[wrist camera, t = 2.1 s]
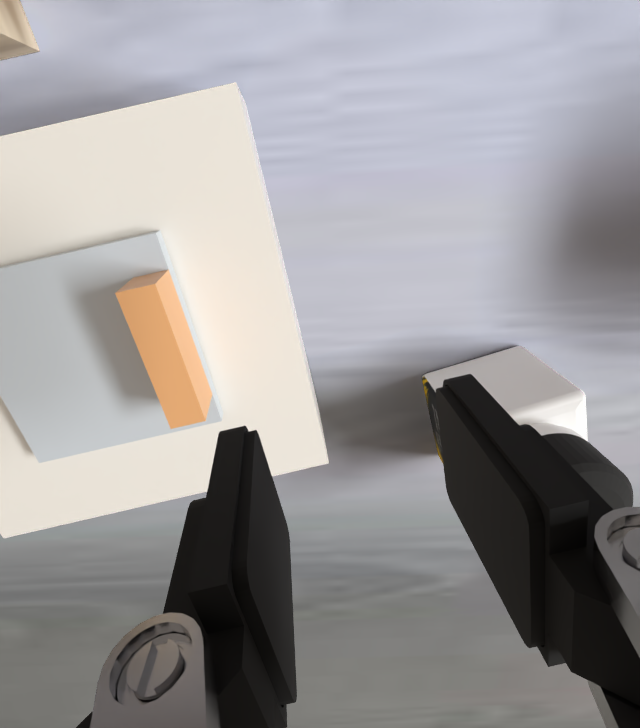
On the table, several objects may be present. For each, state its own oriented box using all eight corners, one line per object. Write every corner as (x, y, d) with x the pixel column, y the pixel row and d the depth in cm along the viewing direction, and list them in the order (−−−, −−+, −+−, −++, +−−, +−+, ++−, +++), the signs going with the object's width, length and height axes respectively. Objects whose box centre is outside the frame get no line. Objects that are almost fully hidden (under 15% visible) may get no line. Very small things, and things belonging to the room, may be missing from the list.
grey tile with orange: (-52, 278, 19) (-111, 300, 16) (160, 230, 19) (140, 243, 16) (46, 453, 23) (13, 496, 20) (223, 412, 23) (216, 449, 20)
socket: (-96, 181, 24) (-232, 189, 17) (245, 103, 24) (235, 82, 17) (58, 460, 31) (3, 538, 25) (317, 401, 31) (329, 463, 25)
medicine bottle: (419, 373, 31) (499, 489, 20) (521, 342, 31) (658, 443, 20) (437, 456, 34) (515, 596, 23) (530, 428, 34) (654, 556, 23)
